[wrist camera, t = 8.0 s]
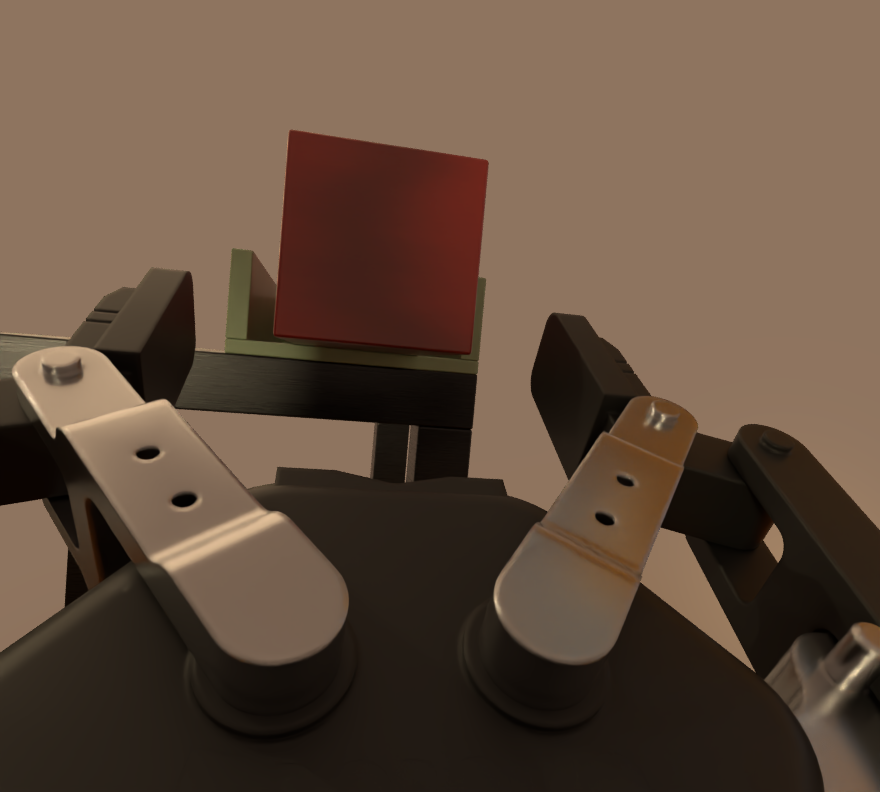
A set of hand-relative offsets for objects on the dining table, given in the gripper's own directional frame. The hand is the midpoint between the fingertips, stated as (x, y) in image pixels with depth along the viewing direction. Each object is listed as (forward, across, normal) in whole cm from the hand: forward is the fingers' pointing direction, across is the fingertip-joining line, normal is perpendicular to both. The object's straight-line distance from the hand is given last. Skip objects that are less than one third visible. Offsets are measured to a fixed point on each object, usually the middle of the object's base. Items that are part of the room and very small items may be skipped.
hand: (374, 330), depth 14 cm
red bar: (+9, 0, +6) cm, 11 cm away
